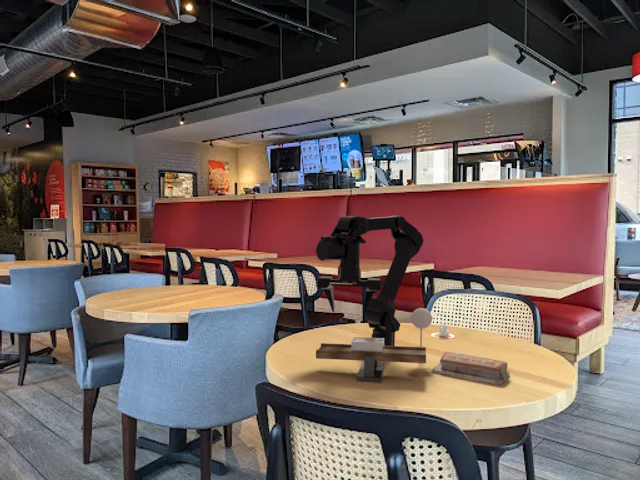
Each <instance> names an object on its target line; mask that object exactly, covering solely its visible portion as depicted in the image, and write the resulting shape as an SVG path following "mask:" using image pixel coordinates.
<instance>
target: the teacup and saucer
mask: <svg viewBox="0 0 640 480" xmlns="http://www.w3.org/2000/svg"><path fill="white" fill-rule="evenodd" d="M436 335H439V336H436ZM430 336H431V337H433V338H437V339H443V340H444V339H445V340H446V339H447V340H449V339H453V338H455V335H454V334H452V333H450V330H449V325H447V324H443V323H442V324H438V332H433V333H431V334H430ZM447 336H450V337H447Z"/></svg>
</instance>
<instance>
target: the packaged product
mask: <svg viewBox="0 0 640 480" xmlns="http://www.w3.org/2000/svg"><path fill="white" fill-rule="evenodd" d="M431 373H435V374H438V375H439V374H440V375H447V376H451V377H454V378H455V377H456V378H460V379H465V380H470V381H473V382H474V381H475V382H479V383H487V384H492V385H496V386H501V385H503V383H504V382H505V381H506V380H507V378H508V377H510V375H511V374H510V371H509V370H508V362H507V361H504V360H499V359H493V358H492V359H491V358H488V357H481V356H477V355H471V354H470V355H469V354H465V353H459V352H454V351H453V352H452V351H444V353H443V354H442V355H441V357H440V360H439V363H438V364H437V365H435V366H433V368H432V369H431Z"/></svg>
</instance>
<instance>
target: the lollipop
mask: <svg viewBox="0 0 640 480" xmlns="http://www.w3.org/2000/svg"><path fill="white" fill-rule="evenodd" d="M410 320H411V323H412V325H413V326H414V327H416V328H417V329H420V331H419V332H420V333H419V334H420V335H419V337H420V338H419V340H420V341H419V347H423V345H422V343H423V329H426V328H428V327H430V325H431V324H432V321H433V315H432V313H431V312H430V310H428V309H427V308H423V307H418V308H416V309H415V310H414V311H412V313H411V315H410Z"/></svg>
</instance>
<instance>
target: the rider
mask: <svg viewBox="0 0 640 480" xmlns="http://www.w3.org/2000/svg"><path fill="white" fill-rule="evenodd" d="M351 349H352V351H361V352H384V338H372V337H367V336H366V337H364V336H363V337H362V336H360V337H359V336H354V337H353V338H352V340H351Z"/></svg>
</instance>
